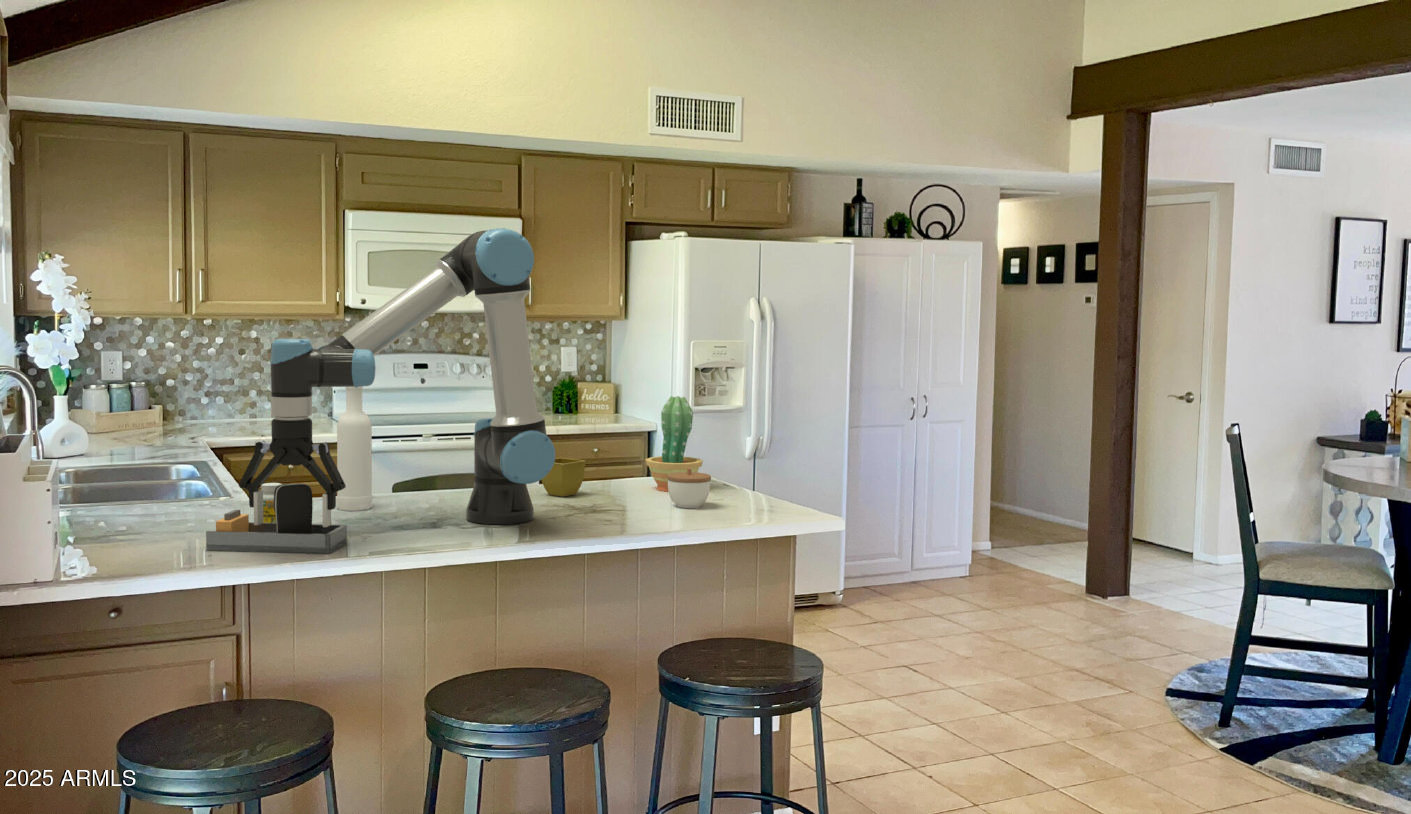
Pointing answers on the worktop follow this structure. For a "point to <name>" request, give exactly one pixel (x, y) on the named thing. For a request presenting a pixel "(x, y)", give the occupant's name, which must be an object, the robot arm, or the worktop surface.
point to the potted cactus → (673, 442)
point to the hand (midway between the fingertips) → (292, 524)
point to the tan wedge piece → (233, 522)
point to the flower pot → (564, 477)
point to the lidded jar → (688, 488)
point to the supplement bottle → (269, 502)
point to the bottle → (354, 454)
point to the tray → (278, 539)
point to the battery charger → (293, 508)
